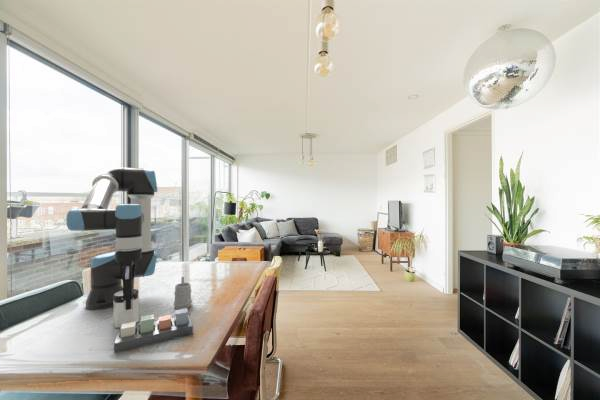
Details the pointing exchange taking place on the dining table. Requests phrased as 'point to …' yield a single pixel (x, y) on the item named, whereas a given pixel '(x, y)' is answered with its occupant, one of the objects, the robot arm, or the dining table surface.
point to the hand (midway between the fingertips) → (128, 317)
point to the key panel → (152, 335)
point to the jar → (119, 309)
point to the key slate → (181, 316)
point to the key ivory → (128, 329)
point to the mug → (182, 295)
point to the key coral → (164, 322)
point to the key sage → (147, 323)
